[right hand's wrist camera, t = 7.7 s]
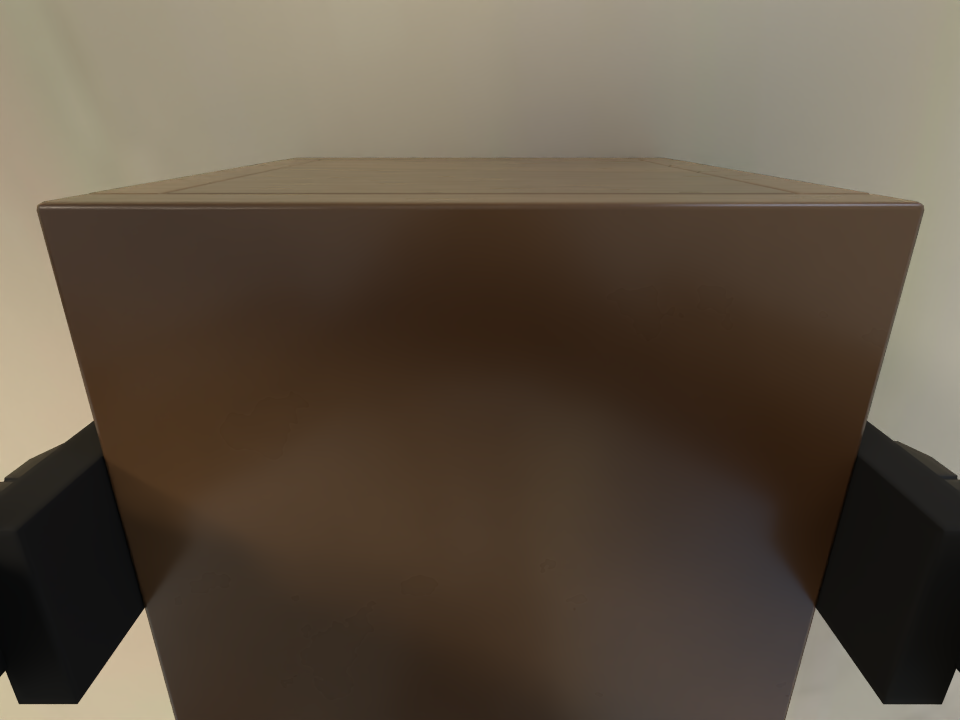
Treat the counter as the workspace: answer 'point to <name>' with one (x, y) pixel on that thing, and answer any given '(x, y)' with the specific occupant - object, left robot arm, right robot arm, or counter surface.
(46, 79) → the counter surface
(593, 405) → the cabinet
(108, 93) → the counter surface
